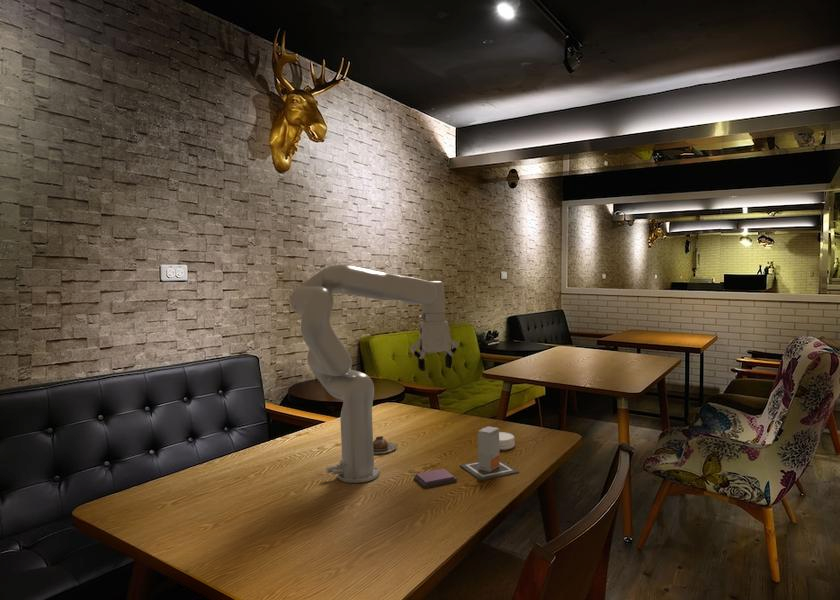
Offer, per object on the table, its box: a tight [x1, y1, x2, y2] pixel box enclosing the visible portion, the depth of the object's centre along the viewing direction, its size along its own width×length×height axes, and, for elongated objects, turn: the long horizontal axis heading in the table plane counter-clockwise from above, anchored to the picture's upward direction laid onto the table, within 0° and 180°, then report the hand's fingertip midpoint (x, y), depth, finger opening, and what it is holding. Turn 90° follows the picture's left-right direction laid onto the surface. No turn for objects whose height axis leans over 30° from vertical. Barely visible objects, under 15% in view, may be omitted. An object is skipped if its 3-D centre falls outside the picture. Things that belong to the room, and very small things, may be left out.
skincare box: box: [477, 426, 501, 472], centre depth 162 cm, size 6×4×12 cm
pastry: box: [373, 435, 398, 456], centre depth 184 cm, size 12×12×5 cm
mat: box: [459, 460, 520, 482], centre depth 162 cm, size 13×13×1 cm
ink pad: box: [413, 468, 458, 489], centre depth 155 cm, size 10×8×2 cm
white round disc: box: [499, 431, 516, 451], centre depth 184 cm, size 10×10×4 cm
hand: (435, 368), depth 178 cm, fingers open, 9 cm apart
